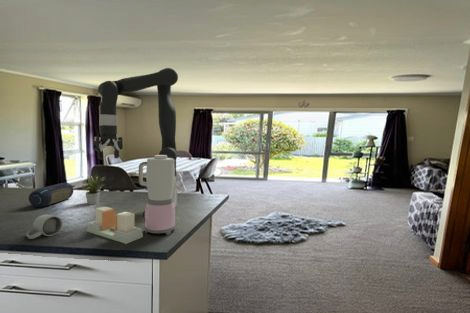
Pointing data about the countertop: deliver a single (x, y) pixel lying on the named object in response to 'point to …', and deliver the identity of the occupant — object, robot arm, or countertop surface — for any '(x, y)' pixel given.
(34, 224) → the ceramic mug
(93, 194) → the house plant
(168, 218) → the blender
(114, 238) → the rail
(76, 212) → the countertop surface
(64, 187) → the portable speaker
